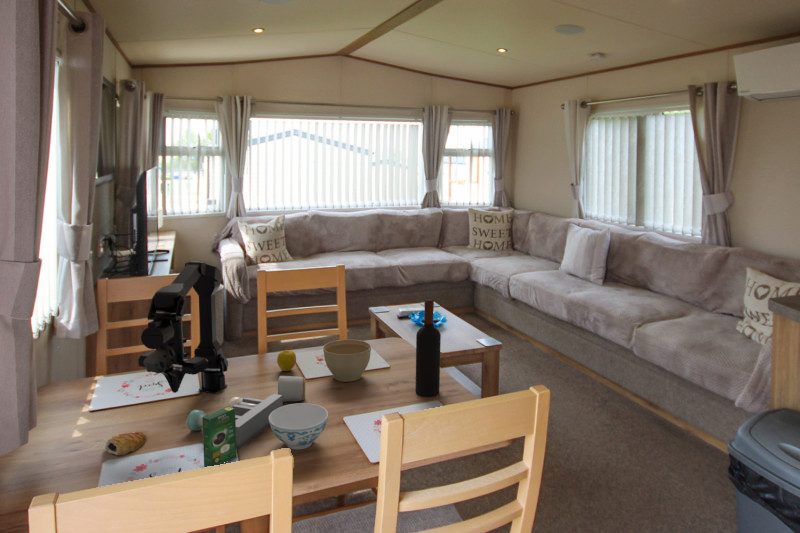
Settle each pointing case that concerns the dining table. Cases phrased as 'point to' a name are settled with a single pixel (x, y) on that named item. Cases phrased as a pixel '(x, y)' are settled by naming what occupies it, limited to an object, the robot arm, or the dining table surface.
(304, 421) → the chinaware
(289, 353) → the apple
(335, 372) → the planter bowl
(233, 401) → the knob
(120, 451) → the pastry
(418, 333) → the wine bottle
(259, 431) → the mount
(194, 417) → the knob
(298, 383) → the ceramic mug
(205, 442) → the coffee box
